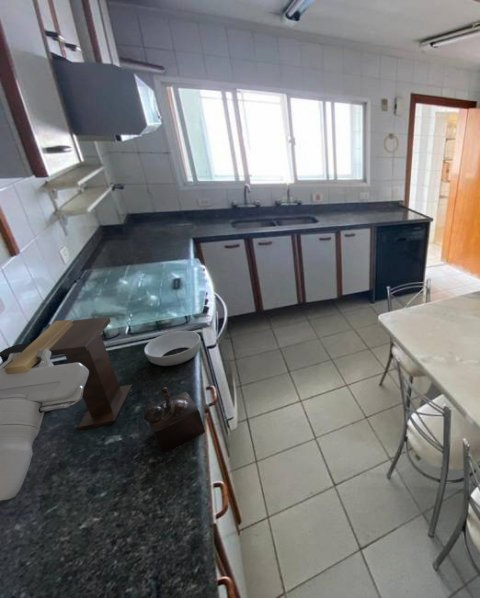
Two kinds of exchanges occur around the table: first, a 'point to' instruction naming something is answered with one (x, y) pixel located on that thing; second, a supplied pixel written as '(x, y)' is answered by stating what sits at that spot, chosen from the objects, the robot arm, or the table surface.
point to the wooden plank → (38, 347)
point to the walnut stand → (93, 371)
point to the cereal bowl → (173, 347)
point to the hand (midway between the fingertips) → (31, 352)
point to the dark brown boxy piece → (174, 421)
